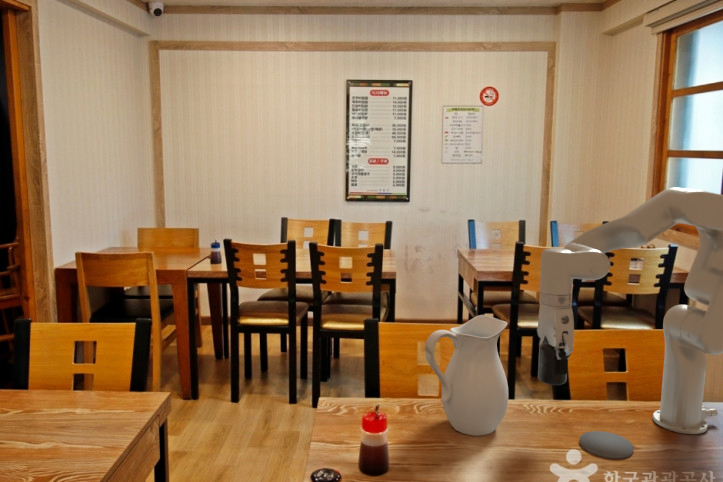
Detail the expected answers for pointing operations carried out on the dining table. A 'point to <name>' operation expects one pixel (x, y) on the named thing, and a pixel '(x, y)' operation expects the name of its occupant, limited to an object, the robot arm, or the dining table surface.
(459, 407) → the pitcher
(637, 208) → the robot arm
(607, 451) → the coaster
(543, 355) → the supplement bottle
